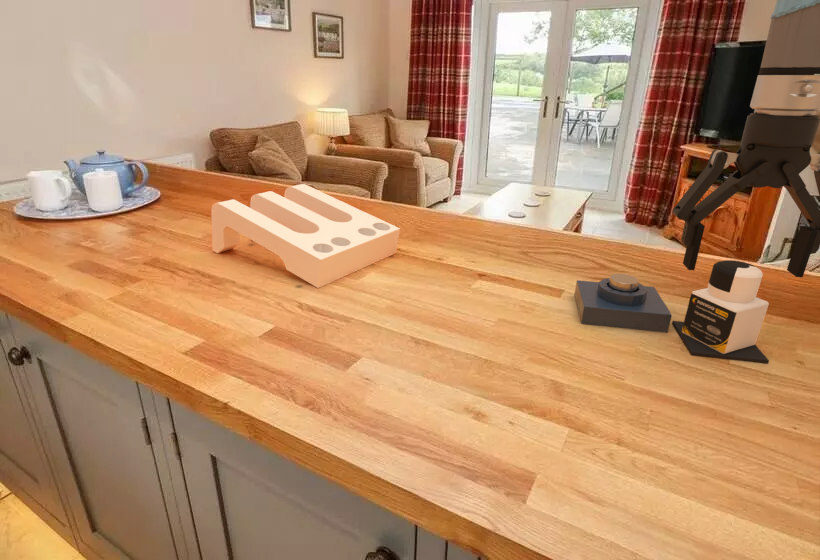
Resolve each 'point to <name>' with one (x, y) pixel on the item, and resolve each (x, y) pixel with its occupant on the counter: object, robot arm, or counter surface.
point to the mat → (704, 351)
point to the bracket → (306, 232)
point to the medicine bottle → (727, 308)
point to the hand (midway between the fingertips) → (740, 270)
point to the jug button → (623, 283)
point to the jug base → (621, 307)
